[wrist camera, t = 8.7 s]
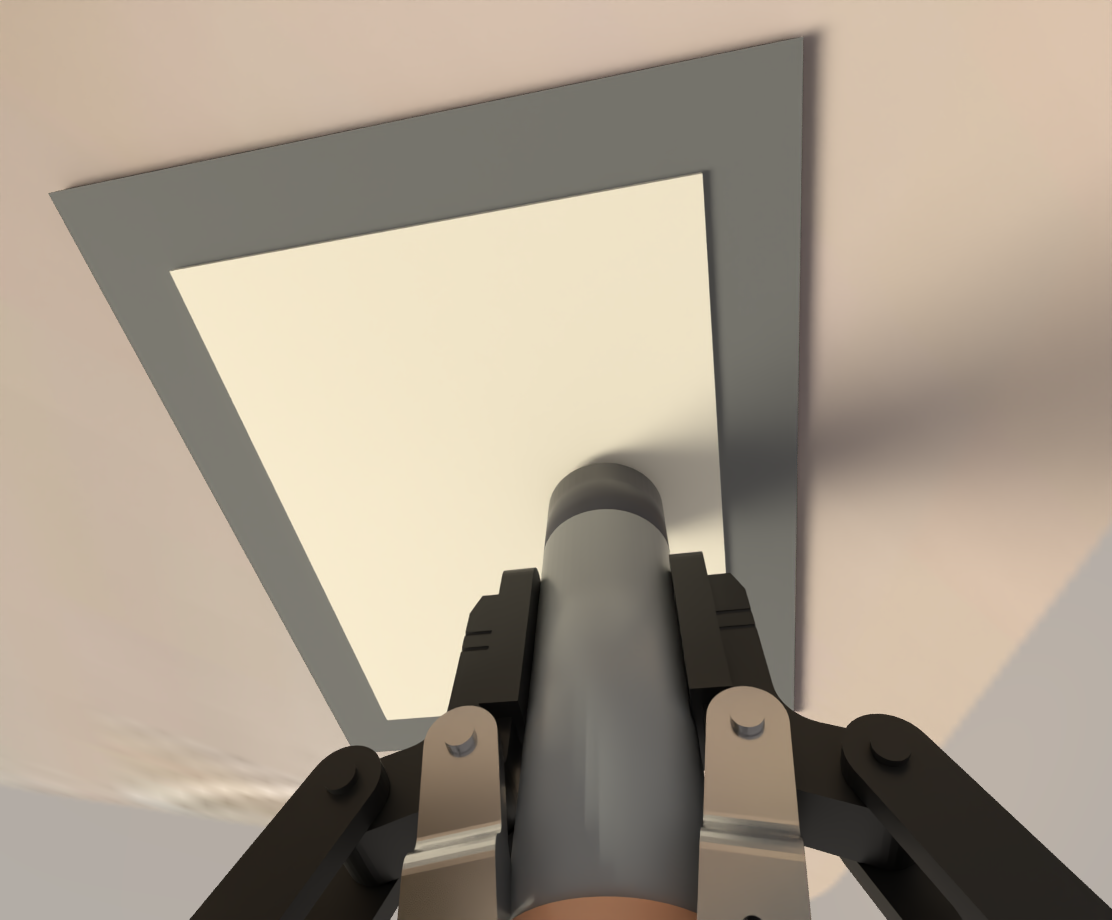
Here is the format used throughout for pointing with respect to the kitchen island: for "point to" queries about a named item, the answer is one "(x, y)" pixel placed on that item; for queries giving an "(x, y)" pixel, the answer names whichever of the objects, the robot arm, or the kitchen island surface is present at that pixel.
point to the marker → (607, 717)
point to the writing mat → (478, 350)
